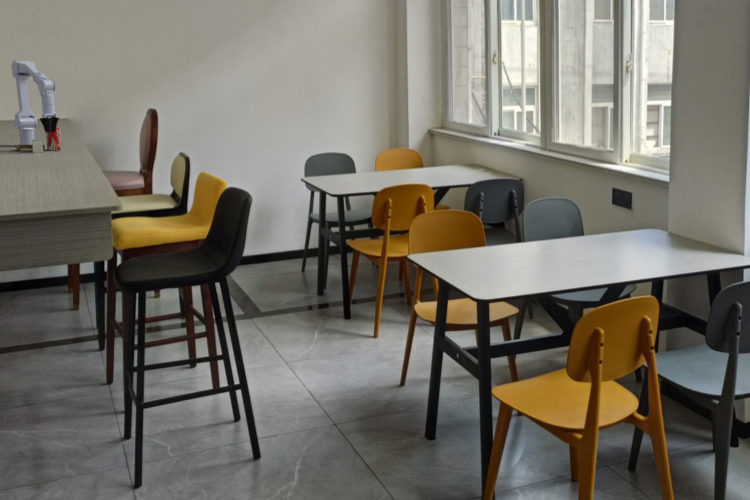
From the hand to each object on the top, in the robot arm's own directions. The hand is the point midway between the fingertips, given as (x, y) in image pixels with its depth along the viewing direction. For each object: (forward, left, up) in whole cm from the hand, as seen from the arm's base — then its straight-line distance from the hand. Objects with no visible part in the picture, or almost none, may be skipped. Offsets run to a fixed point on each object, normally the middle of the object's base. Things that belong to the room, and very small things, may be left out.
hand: (50, 132), depth 383 cm
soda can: (-9, +1, -10) cm, 14 cm away
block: (-2, -6, -10) cm, 12 cm away
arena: (-9, -10, -10) cm, 17 cm away
